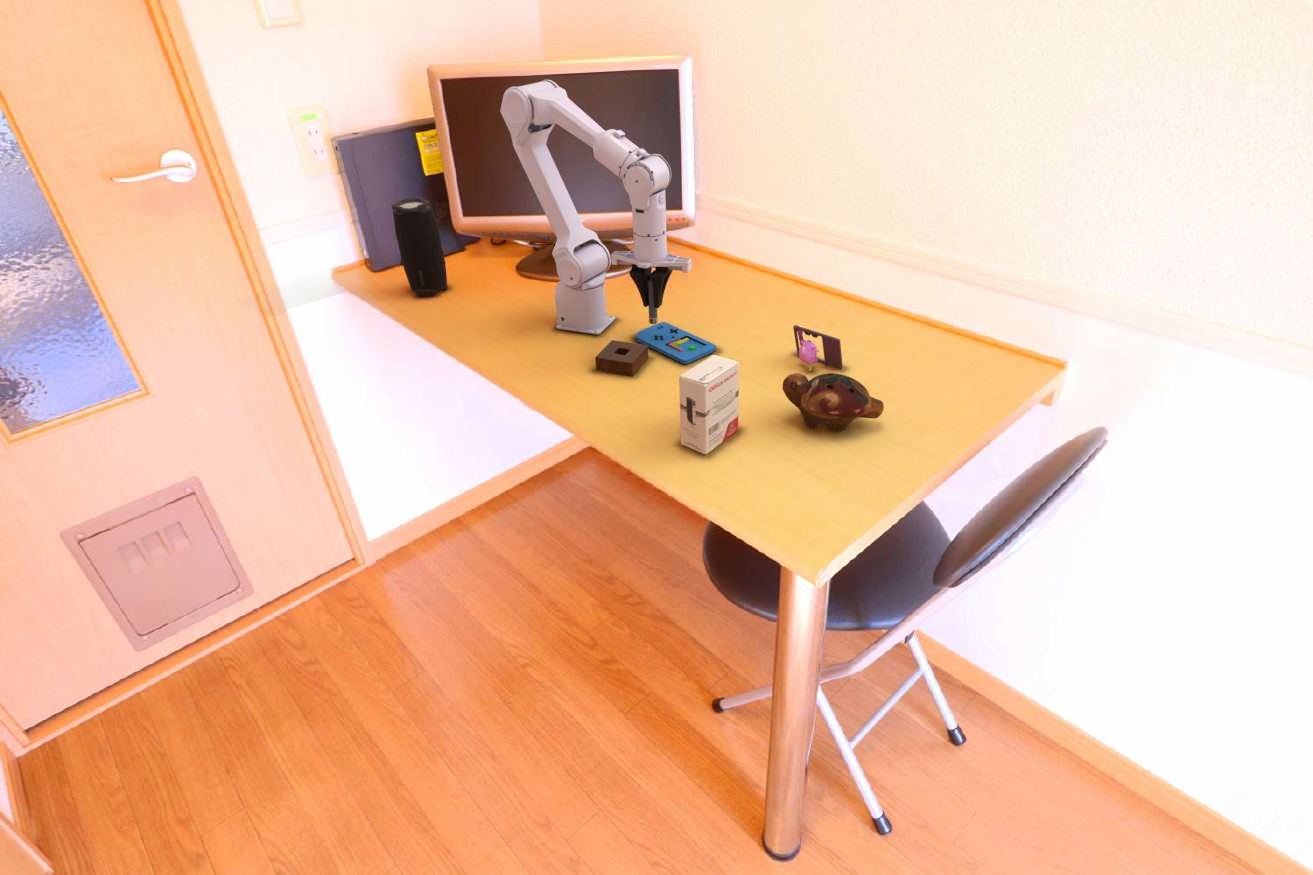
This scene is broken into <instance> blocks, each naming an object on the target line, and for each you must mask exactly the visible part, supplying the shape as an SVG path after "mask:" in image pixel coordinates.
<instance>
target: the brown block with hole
mask: <svg viewBox="0 0 1313 875" xmlns="http://www.w3.org/2000/svg"><path fill="white" fill-rule="evenodd" d="M648 360H649V347H648V345H644V344H642V343H633V342H627V341H626V342H625V341H621V340H615V339H611V340H610V342H609V343H607V345H605V346H604V348H603V349H602V350H601V351H599V353H598V354H596V356H595V357H594V361H595V370H596V371H599V372H604V373H611V374H616V375H622V376H628V377H634V376H635V375H636V374H637V372H639V370H640V369H641V368H642V367H643V365H644V364H645V363H646V362H647V361H648Z"/></svg>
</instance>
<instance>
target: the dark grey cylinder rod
mask: <svg viewBox="0 0 1313 875" xmlns="http://www.w3.org/2000/svg"><path fill="white" fill-rule="evenodd" d="M647 283H648V306H647V308H648V323H649V324H650V325H656V324H658V323H659V316H658V314H659V313H658V308H654V291H653V284H652V280H651V277H650V275H648V276H647Z"/></svg>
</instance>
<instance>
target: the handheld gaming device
mask: <svg viewBox="0 0 1313 875" xmlns="http://www.w3.org/2000/svg"><path fill="white" fill-rule="evenodd" d="M635 335H636V336H635V337H636V338H635V339H636V341H637V342H638V343H639V344H641V345H648V348H650V349H652V350H654V351H656V352H658V353H660V354H662V355H664V356H666V357H668V358H669V359H672V360H674V361H676V362H678V363H680V364H683V365H687V364H688V365H689V364H691V363H693V362H694V361H696V360H699V359H701V358H703V357H706V356H708V355H710V354H712V353H714V352H716V351H717V345H716V344H714V343H712V342H710V341H708V340H705V339H703V338H701V337H700V336H696V335H694V334H692V333H690V332H688V331H686V330H684V329H681V328H679V327H677V326H674V325H672V324H671V323H668V322H666V321H661V322H658V323H657V324H653V325H651V326H649V327H646V328H644V329H641V330H639V331H637V333H636V334H635Z"/></svg>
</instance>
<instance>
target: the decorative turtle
mask: <svg viewBox="0 0 1313 875" xmlns="http://www.w3.org/2000/svg"><path fill="white" fill-rule="evenodd" d="M782 391H783V393H784V395H785V397H786V398H787V399H788V400H789V402H791V404H792V405H794V406H795V408H797V409H798V410H799V412H800V414H801V416H802V418H803V423H804V424H805V426H806V427H807V428H808V430H809V429H810V430H812V429H816V428H817V427H819V426H820V425H822V424H823V423H827V424H829V425H830V426H831V428H832V429H834V431H835V432H837V433H842V432H843V431H845V430H846V429H847V428H848V426H849V425H850V424H851V423H852V422H853V421H854V420H856V419H858V418H860V419H861V418H862V419H878V418H880V417H881V415H882V414H883V412H884V409H885V405H884V402H883V401H882V400H880V399H878V398H875V397H873V396H871V394H870V393H869V390H868V389H867V388H866V387H865V386H864V384H862V383H861V382H860V381H858V380H857V379H855V378H853V377H851V376H848V375H846V374H842V373H833V372H832V373H831V372H829V373H821V374H818V375H816V376H814V377H812V378H811V379H808V377H807V376H806V374H805V373H804V374H803V373H800V372H799V373H797V372H796V373H791V374H788V375H787V376H786V377H785V378H784V379H783V381H782Z"/></svg>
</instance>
